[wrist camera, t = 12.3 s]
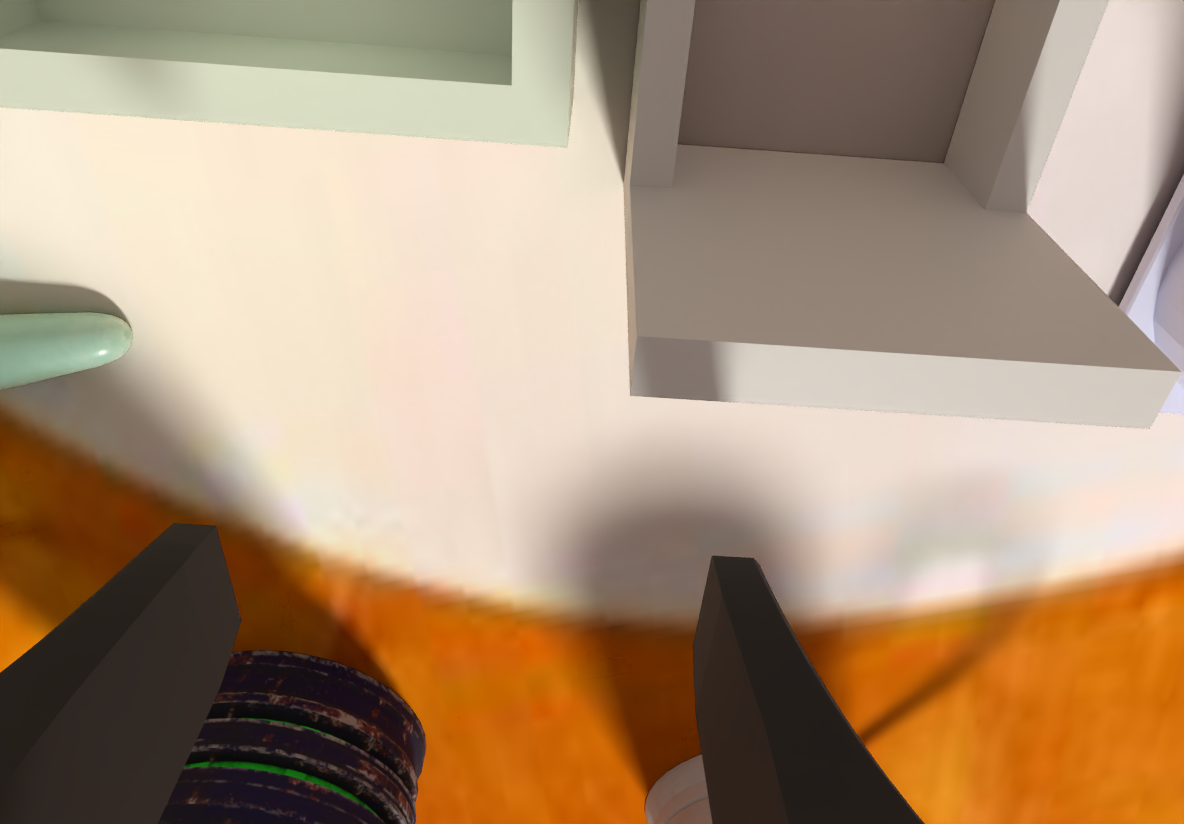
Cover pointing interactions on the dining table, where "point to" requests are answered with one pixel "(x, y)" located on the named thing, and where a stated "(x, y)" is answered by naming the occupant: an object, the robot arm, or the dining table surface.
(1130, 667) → the dining table surface
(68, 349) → the long green cone
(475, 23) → the tray
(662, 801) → the glass holder
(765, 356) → the dock
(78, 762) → the robot arm
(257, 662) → the storage jar
